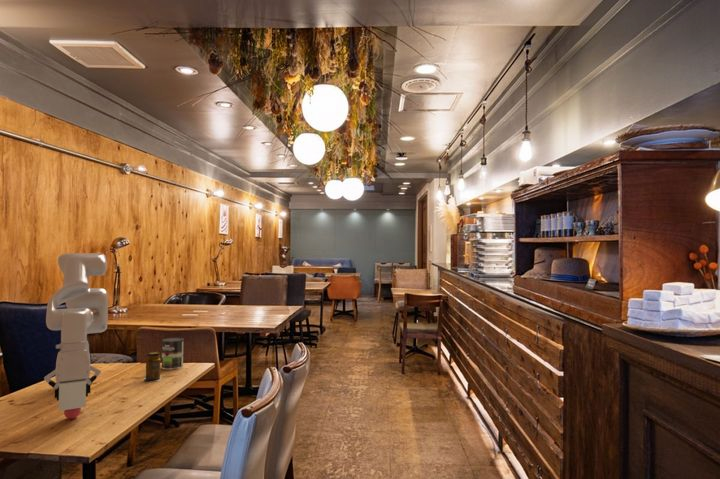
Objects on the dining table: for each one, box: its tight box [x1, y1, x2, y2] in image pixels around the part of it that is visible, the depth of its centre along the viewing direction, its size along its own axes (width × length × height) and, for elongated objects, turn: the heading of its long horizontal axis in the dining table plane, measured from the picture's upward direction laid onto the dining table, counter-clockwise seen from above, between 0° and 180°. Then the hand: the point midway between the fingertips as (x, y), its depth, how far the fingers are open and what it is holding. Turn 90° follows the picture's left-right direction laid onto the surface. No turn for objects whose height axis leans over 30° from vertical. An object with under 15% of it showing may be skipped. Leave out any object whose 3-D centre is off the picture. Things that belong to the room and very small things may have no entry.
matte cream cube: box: [58, 379, 87, 412], centre depth 155 cm, size 8×8×9 cm
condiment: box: [143, 351, 162, 383], centre depth 205 cm, size 7×8×12 cm
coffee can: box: [160, 337, 185, 371], centre depth 227 cm, size 10×10×14 cm
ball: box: [63, 408, 82, 420], centre depth 156 cm, size 5×5×5 cm
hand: (72, 397), depth 155 cm, fingers closed on matte cream cube, 7 cm apart
